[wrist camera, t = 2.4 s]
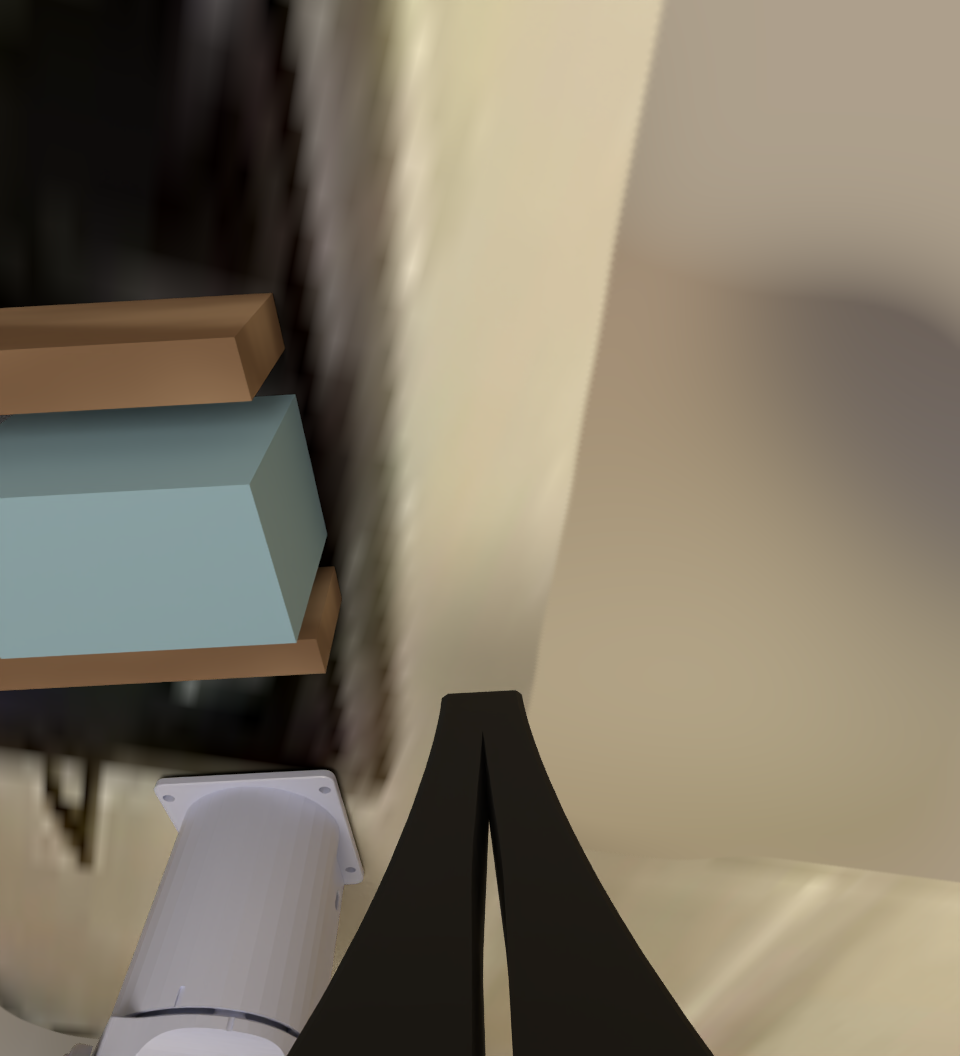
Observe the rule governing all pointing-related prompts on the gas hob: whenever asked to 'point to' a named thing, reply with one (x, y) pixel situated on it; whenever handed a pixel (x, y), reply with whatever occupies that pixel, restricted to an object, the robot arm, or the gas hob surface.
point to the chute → (146, 381)
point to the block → (156, 528)
